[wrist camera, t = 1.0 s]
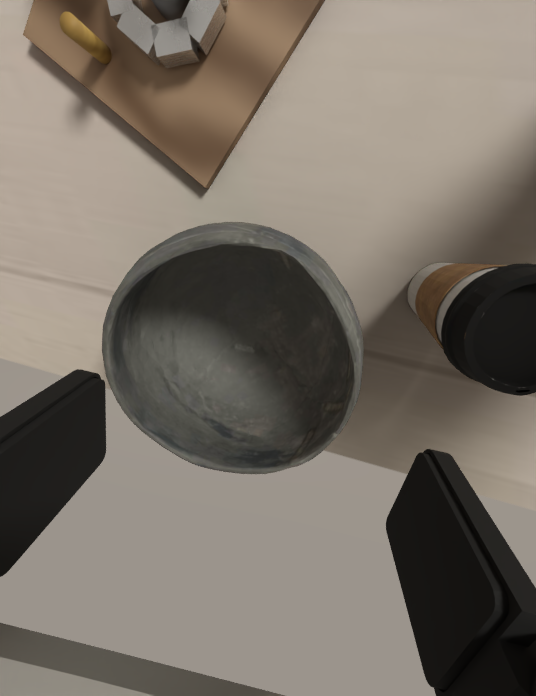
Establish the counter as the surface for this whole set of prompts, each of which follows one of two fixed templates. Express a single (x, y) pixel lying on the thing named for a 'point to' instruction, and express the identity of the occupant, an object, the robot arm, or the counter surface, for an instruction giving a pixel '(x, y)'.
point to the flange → (171, 30)
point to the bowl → (234, 348)
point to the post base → (176, 71)
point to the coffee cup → (482, 320)
